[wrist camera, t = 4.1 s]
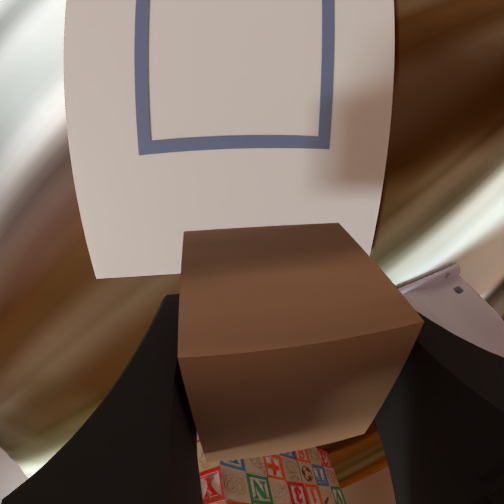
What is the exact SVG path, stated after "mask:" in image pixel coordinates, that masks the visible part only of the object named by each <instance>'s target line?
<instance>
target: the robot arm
mask: <svg viewBox="0 0 504 504" xmlns="http://www.w3.org/2000/svg"><path fill="white" fill-rule="evenodd" d="M459 273H460V266H459V265H457V264H454V265H452V266H450V267H447V268H445V269H443V270H441V271H438V272H436V273H434V274H431V275H429V276H427V277H424V278H422V279H420V280H417V281H415V282H413V283H410V284H408V285H405V286H403V287H400V288H398V290H399V291H400V292H401V293H402V295H403V296H404V297H405V298H406V299H407V301H408V302H409V303H410V304H411V305H412V307H413V308H414V309H415V310H416V312H417V313H418V314H419V315H420V317H421V318H422V319H423V320H424V323H423V326H422V328H421V330H420V332H419V335H418V337H417V339H416V341H415V343H414V346H413V348H412V350H411V352H410V354H409V356H408V358H407V360H406V362H405V364H404V366H403V368H402V370H401V372H400V374H399V376H398V378H397V379H396V381H395V383H394V385H393V387H392V389H391V390H390V392H389V394H388V396H387V398H386V399H385V401H384V403H383V404H382V406H381V408H380V410H379V411H378V413H377V415H376V416H375V418H374V421H375V424H376V427H377V430H378V433H379V436H380V439H381V442H382V445H383V448H384V452H385V455H386V459H387V463H388V466H389V470H390V474H391V479H392V484H393V488H394V493H395V500H396V504H504V321H503V320H502V318H501V317H500V316H499V315H498V314H497V313H496V312H495V311H494V310H493V309H492V308H491V306H490V305H489V304H488V303H487V302H486V301H485V300H484V299H483V298H482V297H481V296H480V295H479V294H478V293H477V292H476V291H475V290H474V289H473V288H472V287H471V286H470V285H469V284H467V283H466V282H465V281H464V280H463V279H462V278H461V277H460V276H459ZM179 296H180V294H172V295H166V296H165V297H164V298H163V300H162V303H161V305H160V307H159V309H158V311H157V313H156V315H155V317H154V319H153V321H152V323H151V325H150V327H149V329H148V331H147V332H146V334H145V336H144V338H143V339H142V341H141V343H140V345H139V347H138V348H137V350H136V352H135V353H134V355H133V357H132V358H131V360H130V361H129V363H128V364H127V366H126V368H125V369H124V371H123V372H122V374H121V376H120V377H119V379H118V380H117V381H116V383H115V384H114V386H113V387H112V389H111V390H110V391H109V393H108V394H107V395H106V397H105V398H104V399H103V401H102V402H101V403H100V405H99V406H98V407H97V409H96V410H95V411H94V412H93V413H92V415H91V416H90V417H89V418H88V419H87V421H86V422H85V423H84V424H83V425H82V427H81V428H80V429H79V430H78V431H77V432H76V433H75V435H74V436H73V437H72V438H71V439H70V440H69V441H68V442H67V443H66V444H65V445H64V446H63V447H62V448H61V449H60V450H59V451H58V452H57V453H56V454H55V455H54V456H53V457H52V458H51V459H50V460H49V461H48V462H47V463H46V464H45V465H44V466H43V467H42V468H41V469H39V470H38V471H37V472H36V473H35V474H34V475H32V476H31V477H30V478H29V479H28V480H26V481H25V482H24V483H23V484H21V485H20V486H19V487H18V488H17V489H15V490H14V491H13V492H11V493H10V494H9V495H8V496H6V497H5V498H4V499H2V503H1V504H203V498H202V490H201V483H200V475H199V466H198V457H197V430H196V426H195V423H194V419H193V416H192V412H191V409H190V405H189V401H188V398H187V394H186V390H185V386H184V382H183V378H182V374H181V370H180V366H179V362H178V321H179Z"/></svg>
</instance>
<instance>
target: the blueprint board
mask: <svg viewBox="0 0 504 504" xmlns="http://www.w3.org/2000/svg"><path fill="white" fill-rule="evenodd" d="M394 53H395V22H394V0H67V2H66V13H65V30H64V90H65V108H66V121H67V131H68V141H69V149H70V157H71V164H72V171H73V177H74V183H75V189H76V195H77V200H78V205H79V210H80V215H81V220H82V224H83V229H84V233H85V237H86V242H87V246H88V250H89V254H90V257H91V261H92V265H93V269H94V272H95V276H96V279H99V278H116V277H132V276H148V275H163V274H178V273H181V261H182V247H183V234H184V231H197V230H212V229H228V228H244V227H262V226H280V225H300V224H322V223H339V224H340V225H341V226H342V227H343V228H344V229H345V230H346V231H347V232H348V233H349V234H350V235H351V237H352V238H353V239H354V240H355V241H356V242H357V243H358V244H359V245H360V246H361V247H362V249H363V250H364V251H365V252H366V253H367V254H368V255H369V256H370V252H371V247H372V243H373V238H374V233H375V228H376V222H377V217H378V211H379V206H380V200H381V194H382V187H383V181H384V174H385V167H386V159H387V151H388V143H389V133H390V123H391V112H392V98H393V82H394Z"/></svg>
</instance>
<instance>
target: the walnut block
mask: <svg viewBox="0 0 504 504" xmlns="http://www.w3.org/2000/svg"><path fill="white" fill-rule="evenodd" d="M423 323H424V320H423V319H422V318H421V317H420V315H419V314H418V313H417V312H416V310H415V309H414V308H413V307H412V305H411V304H410V303H409V302H408V301H407V299H406V298H405V297H404V296H403V295H402V293H401V292H400V291H399V290H398V289H397V287H396V286H395V285H394V284H393V283H392V282H391V280H390V279H389V278H388V277H387V276H386V275H385V273H384V272H383V271H382V270H381V269H380V268H379V266H378V265H377V264H376V263H375V262H374V261H373V260H372V259H371V257H370V256H369V255H368V254H367V253H366V252H365V251H364V250H363V249H362V247H361V246H360V245H359V244H358V243H357V242H356V241H355V240H354V239H353V238H352V237H351V235H350V234H349V233H348V232H347V231H346V230H345V229H344V228H343V227H342V226H341V225H340V224H339V223H322V224H300V225H280V226H262V227H244V228H228V229H212V230H197V231H184V234H183V247H182V261H181V277H180V296H179V321H178V362H179V366H180V370H181V374H182V378H183V382H184V386H185V390H186V394H187V398H188V401H189V405H190V409H191V412H192V416H193V419H194V423H195V426H196V430H197V433H198V436H199V440H200V443H201V446H202V449H203V453H204V456H205V459H206V462H216V461H228V460H238V459H247V458H255V457H262V456H269V455H275V454H281V453H286V452H292V451H297V450H302V449H307V448H312V447H316V446H320V445H325V444H329V443H333V442H337V441H340V440H344V439H348V438H351V437H355V436H358V435H362V434H365V432H366V431H367V429H368V427H369V426H370V424H371V423H372V421H373V419H374V418H375V416H376V415H377V413H378V411H379V410H380V408H381V406H382V404H383V403H384V401H385V399H386V398H387V396H388V394H389V392H390V390H391V389H392V387H393V385H394V383H395V381H396V379H397V378H398V376H399V374H400V372H401V370H402V368H403V366H404V364H405V362H406V360H407V358H408V356H409V354H410V352H411V350H412V348H413V346H414V343H415V341H416V339H417V337H418V335H419V332H420V330H421V328H422V326H423Z"/></svg>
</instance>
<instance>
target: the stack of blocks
mask: <svg viewBox="0 0 504 504" xmlns="http://www.w3.org/2000/svg"><path fill="white" fill-rule="evenodd" d="M197 457H198V466H199V475H200V483H201V490H202V498H203V504H346V501H345V498H344V495H343V493H342V490H341V487H339V484H338V481H337V478H336V475H335V472H334V469H333V468H332V464H331V461H330V458H329V456H328V453H327V451H326V450H322V449H319V448H316V447H312V448H307V449H302V450H297V451H292V452H286V453H281V454H275V455H269V456H262V457H255V458H247V459H238V460H228V461H216V462H206V459H205V456H204V453H203V449H202V446H201V443H200V440H199V436H198V433H197Z"/></svg>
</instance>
